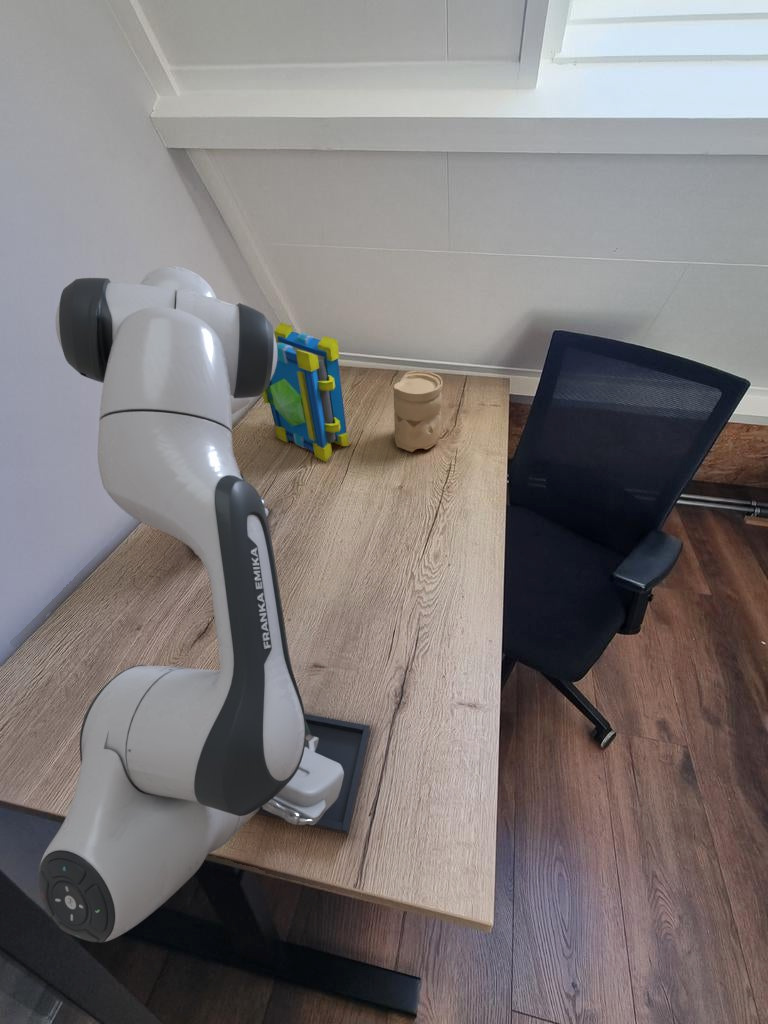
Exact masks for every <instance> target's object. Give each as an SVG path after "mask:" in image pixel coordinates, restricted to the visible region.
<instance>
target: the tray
mask: <svg viewBox="0 0 768 1024" xmlns="http://www.w3.org/2000/svg"><path fill="white" fill-rule="evenodd" d="M305 718H306V723H307V725H308V728H309V730H310V733H311V735H313V736H315V737H317V738H319V740H318V744H317V748H316V749H317V752H318V754H320V755H322V756H324V757H326V758H328V759H331V760H333V761H335V762H337V763H339V764H341V766H342V768H343V771H344V777H343V782H342V786H341V790H340V793H339V796H338V798H337V800H336V801H335V802H334V803H333V804H332V805H331V806H330V807H329V808H328V809H327V810H326V811H325V812H324V814H323V815H322V817H321V818H320V819H319V820H318V822H317V823H315V824H314V825H310V824H305V825H304V826H305V827H309V828H314V829H320V830H323V831H327V832H332V833H337V834H341V835H345V836H349V835H350V830H351V826H352V820H353V816H354V812H355V811H354V810H355V806H356V802H357V796H358V791H359V788H360V782H361V777H362V773H363V768H364V764H365V759H366V753H367V749H368V744H369V740H370V736H371V735H370V734H371V728H370V725H368V724H363V723H357V722H353V721H345V720H341V719H335V718H330V717H325V716H318V715H313V714H308V713H305ZM255 815H258V816H263V817H266V818H271V819H276V820H280V821H283V822H284V821H285V819H283V818H281V817H279V816H277V815H273V814H271V813H269V812H267V811H265V810H263V809H261V808H260V809H259V810H258V811H257V813H256V814H255ZM285 822H286V821H285Z"/></svg>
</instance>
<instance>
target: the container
mask: <svg viewBox="0 0 768 1024" xmlns="http://www.w3.org/2000/svg"><path fill="white" fill-rule="evenodd" d="M443 386H444V384H443V378H442V377H441V376H440V375H439V374H437V373H434V372H431V371H423V370H410V371H407V372H405V374H404V375H403V376H402V377H400V380H399V381H398V382H396V383H394V385H393V388H392V391H393V410H394V413H393V414H394V415H393V421H394V443H395V445H396V447H397V448H400V449H402V450H405V451H406V452H409V453H413V452H414V451H417V450H418V449H424V450H429V449H431V448H433V446H434V445H436V444H437V443H438V441H440V437H441V432H442V431H441V428H442V410H441V409H442V406H443V405H442V404H443V393H442V391H443Z"/></svg>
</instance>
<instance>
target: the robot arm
mask: <svg viewBox="0 0 768 1024" xmlns="http://www.w3.org/2000/svg"><path fill="white" fill-rule="evenodd" d="M55 312H56V313H55V332H56V336H57V341H58V342H59V345H60V348H61V350H62V353H63V356H64V359H65V361H66V362H67V364H69V365H70V366H71V368H73V369H74V370H75V371H76V372H77V373H78V374H79V375H80V376H82V377H85V378H87V379H90V380H93V381H95V382H99V383H101V384H102V391H101V397H100V408H99V419H98V434H97V435H98V436H97V465H98V469H99V470H98V472H99V476H100V480H101V484H102V487H103V489H104V490H105V492H106V494H107V495H108V496H109V497H110V499H111V500H112V501H113V502H114V503H115V504H116V505H117V506H118V507H119V508H120V509H121V510H122V511H124V513H126V514H127V515H129V516H130V517H131V518H133V519H134V520H137V521H138V522H140V523H141V524H144V525H146V526H147V527H150V528H153V529H155V530H157V531H159V532H162V533H165V534H167V535H169V536H172V537H174V538H175V539H177V540H178V541H181V542H182V543H183V544H185V545H186V546H188V547H189V548H190V549H191V550H192V551H193V553H194V555H195V556H198V558H199V559H200V561H201V562H202V564H203V566H204V568H205V570H206V573H207V576H208V579H209V584H210V592H211V593H210V594H211V600H212V601H211V602H212V609H213V617H214V625H215V633H216V643H217V649H218V657H219V668H220V669H206V668H205V669H204V668H191V667H185V666H173V665H172V666H171V665H170V666H169V665H148V664H146V665H145V664H138V665H135V666H131V667H129V668H126V669H124V670H122V671H121V672H119V673H118V674H116V675H115V676H114V677H113V678H111V679H110V680H109V681H108V682H107V683H106V684H105V685H104V686H103V687H102V688H101V689H100V690H99V691H98V693H97V694H96V695H95V697H94V698H93V699H92V701H91V703H90V704H89V706H88V707H87V710H86V712H85V715H84V716H83V720H82V722H81V727H80V734H79V757H80V768H79V773H78V777H77V780H76V786H75V789H74V793H73V797H72V800H71V802H70V807H69V809H68V812H67V814H66V816H65V818H64V821H63V822H62V825H61V826H60V828H59V830H58V831H57V832H56V834H55V836H54V837H53V838H52V840H51V841H50V843H49V845H48V846H47V848H46V850H44V853H43V854H42V858H41V860H40V864H39V868H38V887H39V894H40V898H41V901H42V904H43V906H44V909H45V910H46V913H47V914H48V916H49V917H50V918H51V919H52V920H53V922H54V923H55V924H56V925H57V926H58V927H59V929H61V931H63V932H65V933H67V934H69V935H71V936H73V937H75V938H78V939H80V940H84V941H86V942H91V943H102V944H103V943H106V942H109V941H112V940H115V939H116V938H118V937H120V936H122V935H124V934H125V933H127V932H129V931H130V930H132V929H133V928H134V927H136V926H137V925H139V924H140V923H142V922H143V921H144V920H146V919H147V918H148V917H149V916H150V915H152V914H153V913H155V911H157V910H158V909H159V908H160V907H161V906H162V905H163V904H165V903H166V902H167V901H168V900H169V899H171V897H172V896H173V895H175V894H176V893H177V892H178V891H179V890H180V888H182V887H183V886H184V885H185V884H186V883H187V882H188V881H189V880H190V879H191V878H192V877H193V876H194V875H195V874H196V873H197V872H198V871H199V870H200V869H201V867H202V865H203V863H204V861H205V860H206V858H207V856H208V855H209V854H211V853H213V852H215V851H217V850H219V849H220V848H222V847H223V846H224V845H225V844H227V843H228V842H229V841H230V840H231V839H232V838H233V837H234V835H235V834H236V833H238V832H239V831H240V830H241V829H242V828H243V827H244V826H245V825H246V824H247V823H248V822H249V821H250V820H251V819H252V818H253V817H254V816H255V815H257V814H256V813H257V811H258V810H259V809H260V808H261V809H263V810H265V811H267V812H269V813H271V814H273V815H277V816H279V817H281V818H283V819H285V822H286V823H288V824H290V825H293V826H306V825H305V824H310V825H314V824H315V823H317V822H318V820H319V819H320V818H321V817H322V815H323V814H324V812H325V811H326V810H327V809H328V808H329V807H330V806H331V805H332V804H333V803H334V802H335V801H336V800H337V798H338V796H339V793H340V790H341V786H342V782H343V777H344V771H343V768H342V766H341V764H339V763H337V762H335V761H333V760H331V759H328V758H326V757H324V756H322V755H320V754H317V753H315V750H316V748H317V744H318V740H319V738H317V737H315V736H313V735H310V734H307V736H306V718H305V714H306V712H305V707H304V704H303V700H302V696H301V694H300V690H299V687H298V683H297V680H296V677H295V674H294V671H293V667H292V661H291V657H290V651H289V644H288V637H287V630H286V624H285V617H284V612H283V604H282V598H281V592H280V590H281V589H280V585H279V577H278V571H277V565H276V564H277V563H276V558H275V553H274V552H275V551H274V546H273V540H272V534H271V529H270V525H269V520H268V516H269V515H270V512H269V510H268V508H267V507H265V504H264V499H262V497H261V495H260V493H259V491H258V490H257V489H256V487H254V486H253V484H251V483H250V482H248V481H246V479H245V477H244V475H243V473H242V472H241V471H240V468H239V465H238V463H237V460H236V457H235V454H234V447H233V414H235V413H237V412H238V411H240V410H241V409H243V408H244V407H246V406H247V405H249V404H250V402H251V399H252V398H256V397H259V396H261V395H262V393H263V392H264V391H265V390H266V389H267V388H268V386H269V383H270V380H271V379H272V377H273V375H274V372H275V369H276V365H277V344H276V338H275V333H274V327H273V324H272V323H271V322H270V320H269V319H268V318H267V317H266V315H265V314H264V313H263V312H262V311H259V310H257V309H255V308H253V307H251V306H249V305H246V304H243V303H240V302H238V303H237V304H234V303H230V302H227V301H225V300H222V299H218V297H217V296H216V293H215V291H214V289H213V288H212V286H211V285H210V284H209V283H208V282H207V281H206V279H204V278H203V277H202V276H200V275H199V274H198V273H196V272H194V271H192V270H190V269H188V268H185V267H181V266H176V265H165V266H161V267H157V268H155V269H153V270H151V271H149V272H148V273H147V274H146V275H145V276H144V277H143V278H142V280H141V282H140V283H139V284H138V283H128V282H127V283H126V282H112V281H111V280H110V279H109V278H105V277H81V278H75V279H74V280H73V281H71V282H70V283H69V284H68V285H66V286H65V287H64V288H63V289H62V292H61V294H60V299H59V302H58V305H57V308H56V311H55Z"/></svg>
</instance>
